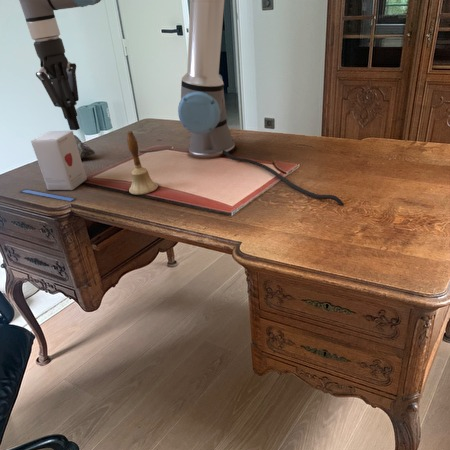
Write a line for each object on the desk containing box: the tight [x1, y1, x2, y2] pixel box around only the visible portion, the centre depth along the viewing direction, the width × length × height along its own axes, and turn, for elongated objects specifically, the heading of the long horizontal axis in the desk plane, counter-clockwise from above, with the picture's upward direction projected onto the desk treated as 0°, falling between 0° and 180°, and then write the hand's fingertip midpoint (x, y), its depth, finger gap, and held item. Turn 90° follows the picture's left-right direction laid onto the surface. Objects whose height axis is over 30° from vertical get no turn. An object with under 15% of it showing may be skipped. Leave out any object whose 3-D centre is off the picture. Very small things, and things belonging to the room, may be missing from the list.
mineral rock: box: [74, 134, 96, 160], centre depth 152 cm, size 13×11×10 cm
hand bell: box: [126, 130, 159, 196], centre depth 121 cm, size 8×8×16 cm
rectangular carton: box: [30, 130, 88, 191], centre depth 131 cm, size 9×9×15 cm
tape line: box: [21, 189, 75, 202], centre depth 129 cm, size 22×2×1 cm, turn 58°
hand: (75, 129), depth 132 cm, fingers closed
